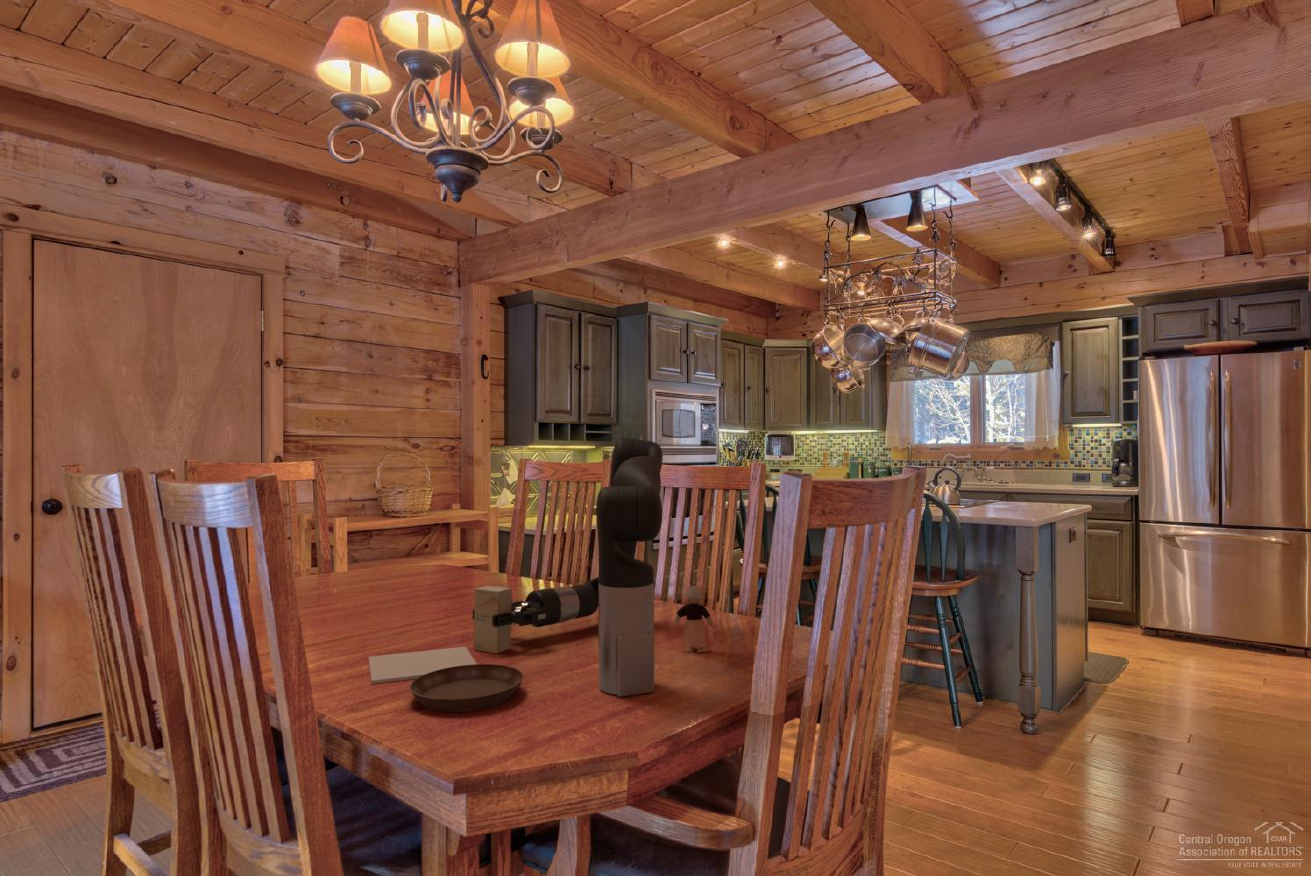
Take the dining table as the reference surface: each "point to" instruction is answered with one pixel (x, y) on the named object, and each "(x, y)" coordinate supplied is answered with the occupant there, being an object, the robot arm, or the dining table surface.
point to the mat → (416, 664)
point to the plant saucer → (466, 687)
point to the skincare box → (486, 606)
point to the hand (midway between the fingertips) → (483, 618)
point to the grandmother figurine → (694, 620)
